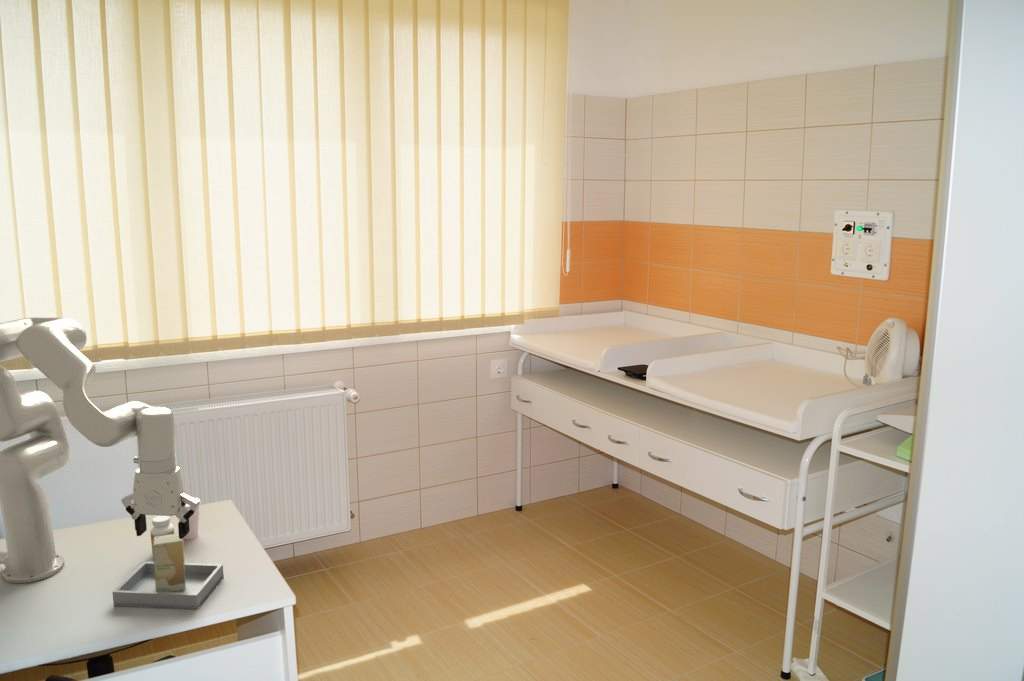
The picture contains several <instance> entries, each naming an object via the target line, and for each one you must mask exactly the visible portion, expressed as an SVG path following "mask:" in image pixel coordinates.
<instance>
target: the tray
mask: <svg viewBox="0 0 1024 681" xmlns="http://www.w3.org/2000/svg"><path fill="white" fill-rule="evenodd" d="M184 565H185V590H180V591H173V592H156V586H155V570H154V561H143V562H142V563H141V564H140V565H139V566H138V567H137V568H136V569H134V571H133V572H132V573H131V574H129V576H127V577H126V579H124V580H123V581H122V582H121V583H120V584H119V585H118V586H117V587H116V588H115V589H114V590H113V591H112V594H111V595H112V602H113V607H119V608H121V607H122V608H142V609H143V608H144V609H173V610H174V609H175V610H192V609H198V610H199V609H200V608H201V607H202V605H203V604H205V602H206V601H207V599H208V598H209V597H210V596H211V594H212V593H213V592H214V591H215V589H216V588H217V587H218V586H219V584H220V583H221V582H222V581H223V580H224V565H223V563H222V564H221V563H220V564H219V563H196V562H195V563H194V562H193V563H192V562H191V563H190V562H184ZM222 579H223V580H222ZM221 580H222V581H221ZM217 585H218V586H217ZM216 586H217V587H216ZM213 590H214V591H213ZM209 595H210V596H209ZM205 600H206V601H205ZM204 601H205V602H204ZM200 606H201V607H200ZM199 607H200V608H199Z"/></svg>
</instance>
